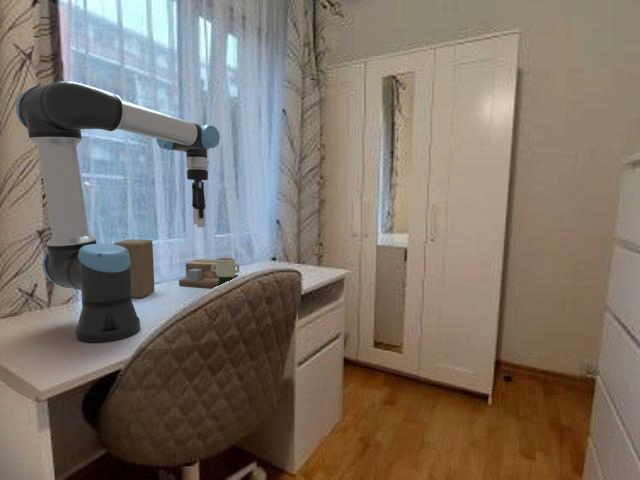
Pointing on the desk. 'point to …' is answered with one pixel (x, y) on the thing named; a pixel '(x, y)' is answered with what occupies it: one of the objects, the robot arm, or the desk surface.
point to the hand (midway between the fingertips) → (198, 225)
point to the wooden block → (140, 266)
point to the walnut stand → (208, 275)
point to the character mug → (225, 269)
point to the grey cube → (195, 274)
